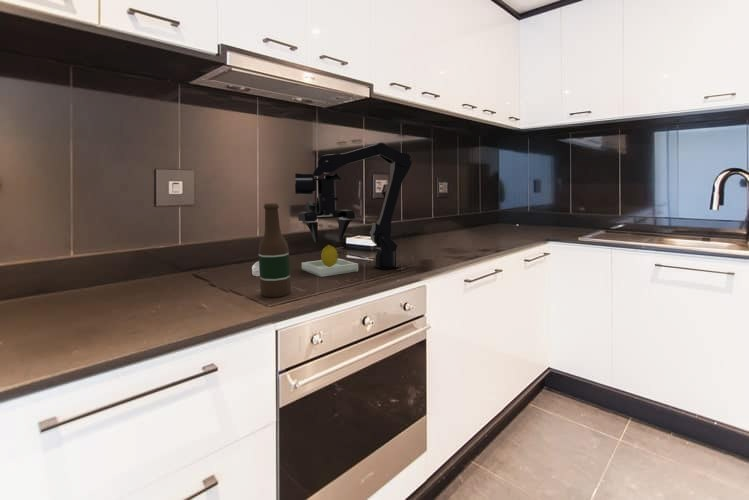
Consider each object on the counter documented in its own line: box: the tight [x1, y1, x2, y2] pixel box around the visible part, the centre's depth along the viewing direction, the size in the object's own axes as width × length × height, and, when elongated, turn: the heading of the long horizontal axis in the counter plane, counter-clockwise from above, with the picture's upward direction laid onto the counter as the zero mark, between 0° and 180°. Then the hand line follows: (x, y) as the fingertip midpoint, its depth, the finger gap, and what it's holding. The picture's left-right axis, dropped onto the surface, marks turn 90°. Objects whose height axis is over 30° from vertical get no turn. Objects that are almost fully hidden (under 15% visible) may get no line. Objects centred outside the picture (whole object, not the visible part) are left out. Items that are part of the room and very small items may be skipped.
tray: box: [301, 257, 359, 278], centre depth 138 cm, size 14×14×2 cm
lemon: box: [320, 244, 339, 267], centre depth 137 cm, size 6×6×8 cm
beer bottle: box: [258, 202, 292, 298], centre depth 107 cm, size 8×8×24 cm
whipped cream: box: [251, 260, 260, 277], centre depth 133 cm, size 8×7×5 cm
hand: (328, 241), depth 136 cm, fingers open, 9 cm apart
